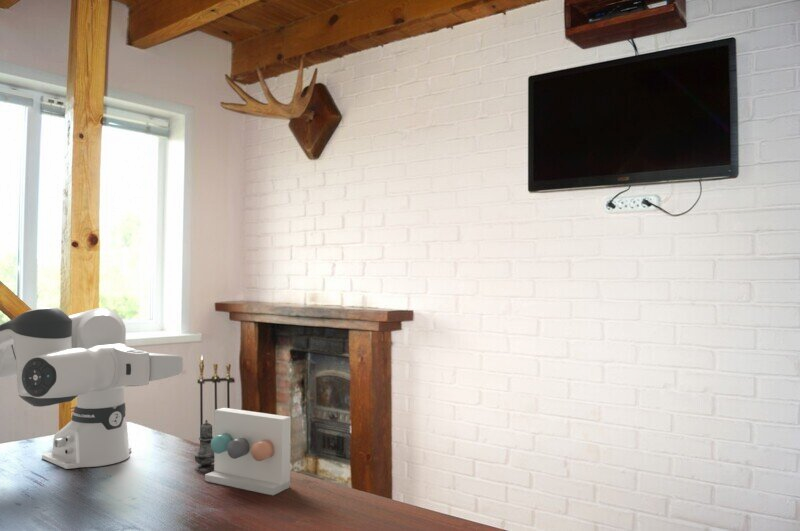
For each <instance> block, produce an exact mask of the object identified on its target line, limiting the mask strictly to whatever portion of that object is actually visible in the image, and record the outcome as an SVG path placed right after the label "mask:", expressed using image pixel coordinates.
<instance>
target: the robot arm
mask: <svg viewBox="0 0 800 531" xmlns="http://www.w3.org/2000/svg"><path fill="white" fill-rule="evenodd" d="M126 329H127V328H126V325H125V322H124V320H123V319H122V317H121V316H120V315H119V314H118V313H117V312H116V311H114V310H112V309H110V308H106V307H97V308H92V309H89V310H85V311H82V312H79V313H75V314H71V315H67V313H66V312H64V311H63V310H61V309H60V308H58V307H50V306H47V307H37V308H32V309H29V310H27V311H25V312H22V313H20V314H18V315H17V316H15V317H14V318H12V319H10V320H8V321H5V322H4V323H2V324H0V380H6V379H10V378H14V377H16V382H17V383H16V385H17V392H18V396H19V397H20V399H22V400H23V401H24V402H26V403H28V404H29V405H31V406H33V407H48V406H53V405H58V404H62V403H69V402H72V401H74V400H75V399H76V405H75V406H74V407H70V408H69V409H70V411H69V412H70V413H72V415H71V419H70V421H69V422H68V423H67V424H66V425H65V426H63V427H62V428H61V429H59V430H58V431H57V432H56V433H55V434H54V436H53V441H52V442H53V443H52V450H49V451H47V452H44V453H43V454H42V455H41V456H42V457H41V459H43V460H45V461H47V462H48V463H49V462H50V463H51V464H54V465H56V466H58V467H61V468H63V469H65V470H67V469H69V470H70V469H78V468H93V467H104V466H108V465H114V464H117V463H120V462H124V461H126V460H128V459H129V458H130V456H131V454H130V453H131V452H132V447H131V446H129V434H128V425H127V424H128V423H127V421H126V420H125V417H126V410H127V409H126V408H127V407H126V402H125V401H124V400H125V399H124V397H125V396H124V394H125V393H124V392H125V388H126V387H143V386H148V385H149V382H155V381H159V380H160V381H161V380H163V379H167V378H170V377H174V376H179V375H180V374H181V373H182V372H183V364H184V362H183V361H184V357H183V356H182V355H181V354H180V355H179V354H166V353H157V352H148V351H144V350H139V349H136V348H135V349H134V348H133V347H130V346H127V345H126V336H127V335H126V333H127V332H126Z"/></svg>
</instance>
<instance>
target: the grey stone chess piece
mask: <svg viewBox="0 0 800 531" xmlns="http://www.w3.org/2000/svg"><path fill="white" fill-rule="evenodd" d="M199 431H200V435H199V437H198V440H199V448H198V451H196V452H194V453H193V457H194V460H195V462H196V463H197V464H198V465H197V466H195V467H194V470H195V471H196V472H210V471H214V451H213V450H212V448H211V440H212V438H213V437H214V436H213V425H212V424H211V423H209V421H208V420H207V419H206V420H205V421H204V423H203V424H201V425H200V429H199Z"/></svg>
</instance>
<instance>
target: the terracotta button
mask: <svg viewBox="0 0 800 531" xmlns="http://www.w3.org/2000/svg"><path fill="white" fill-rule="evenodd" d="M273 453H274V447H273V444H272V443H271V442H270V441H269V440H263V441H261V442H258V443H255V444H254V445H253V446H252V448H251V454H252V457H253V458H254V459H255V460H256V461H262V460H265V459H267V458H270V457H271V456H272V455H273Z"/></svg>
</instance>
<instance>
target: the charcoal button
mask: <svg viewBox="0 0 800 531" xmlns="http://www.w3.org/2000/svg"><path fill="white" fill-rule="evenodd" d="M249 449H250V446H249V442H248V441H247V440H246V439H245V438H239V439H236V440H233V441H230V442H229V443H228V445H227V452H228V455H229V456H230V457H231V458H233V459H236V458H239V457H242V456H244V455H246V454H248V452H249Z"/></svg>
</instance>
